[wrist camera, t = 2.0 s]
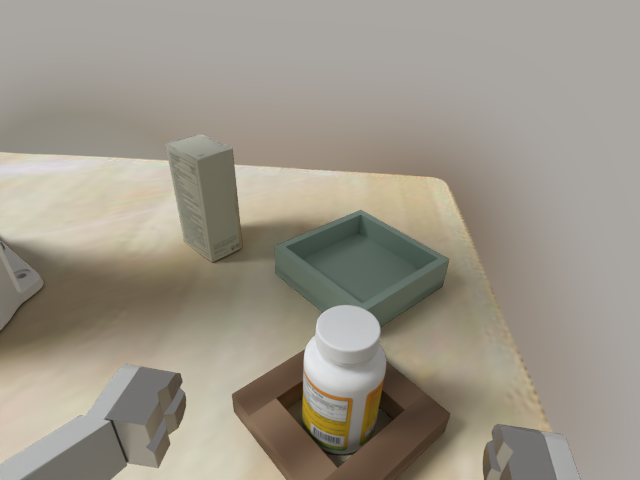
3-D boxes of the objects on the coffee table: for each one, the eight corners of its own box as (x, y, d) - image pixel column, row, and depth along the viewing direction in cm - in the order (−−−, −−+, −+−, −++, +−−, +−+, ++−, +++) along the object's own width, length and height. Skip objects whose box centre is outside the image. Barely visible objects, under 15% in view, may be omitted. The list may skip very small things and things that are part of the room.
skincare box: (243, 249, 49) (236, 149, 43) (210, 264, 47) (197, 160, 40) (212, 227, 53) (201, 132, 46) (180, 241, 50) (163, 141, 44)
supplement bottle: (358, 383, 34) (371, 290, 29) (387, 444, 30) (408, 349, 25) (293, 399, 33) (294, 304, 28) (314, 466, 29) (320, 369, 23)
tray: (275, 272, 46) (274, 245, 44) (358, 234, 53) (360, 209, 51) (358, 341, 38) (362, 312, 36) (442, 286, 45) (449, 259, 43)
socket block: (233, 411, 32) (231, 394, 31) (341, 342, 38) (343, 325, 37) (333, 540, 25) (335, 524, 24) (444, 430, 31) (450, 413, 30)
